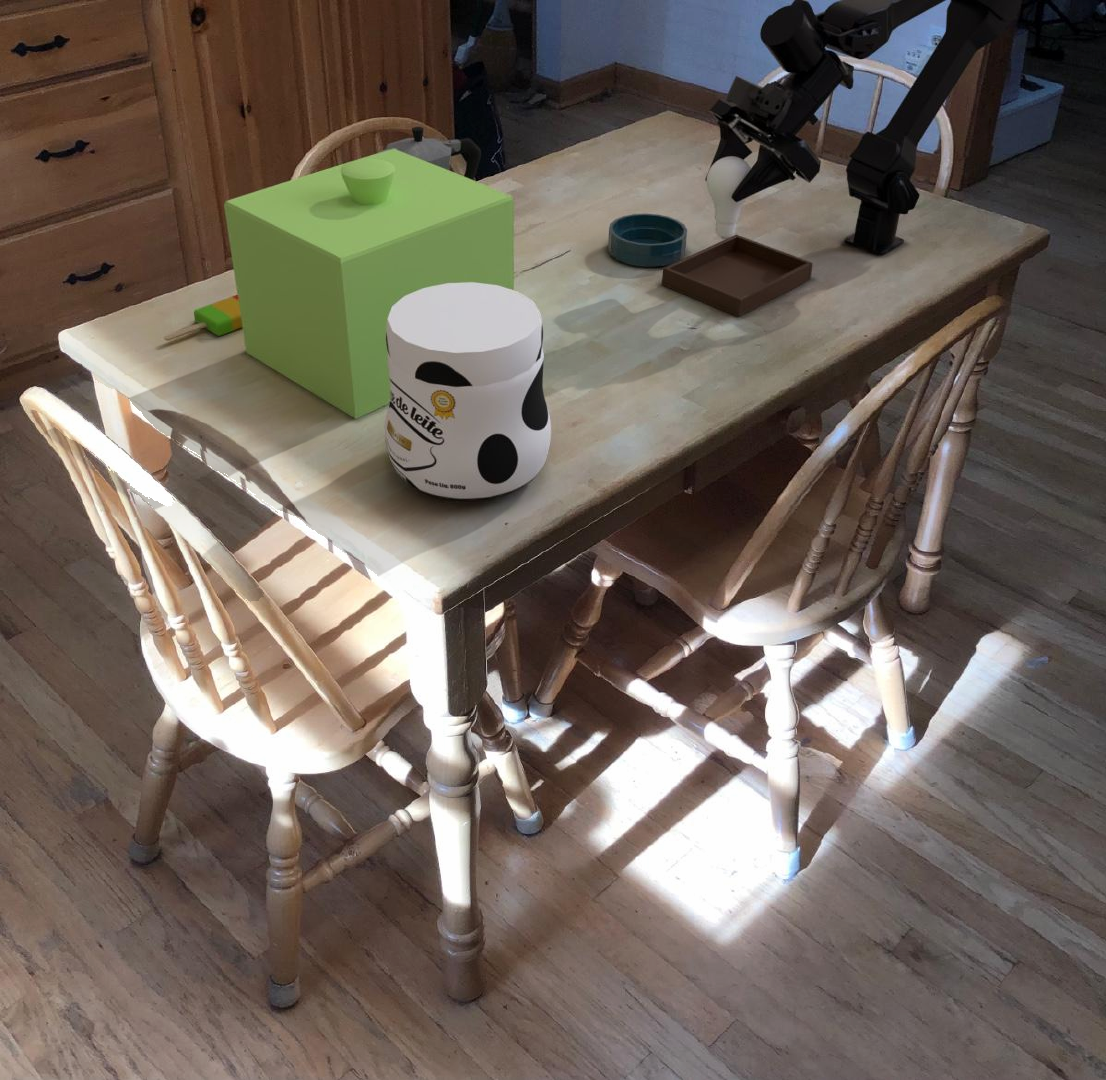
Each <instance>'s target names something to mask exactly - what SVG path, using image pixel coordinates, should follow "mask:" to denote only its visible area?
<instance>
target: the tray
mask: <svg viewBox="0 0 1106 1080" xmlns="http://www.w3.org/2000/svg"><path fill="white" fill-rule="evenodd" d="M813 264H814V263H813V262H811V261H809V260H806V259H803V258H801V257H798V256H795V255H792V254H790V253H787V252H784V251H783V250H779V249H777V248H774V247H771V246H769V245H766V244H763V243H761V242H759V241H756V240H753V239H749V238H748V237H744V236H742V235H739V234H734V235H733V236H732V237H729V238H728V239H722V240H721V241H719V242H717V243H715V244H712V245H710V246H708V247H706V248H703V249H701V250H699V251H697V252H695V253H693V254H691V255H688V256H686V257H683V258H682V259H681V260H679V261H677V262H675V263H673V264H669V265H665V266H663V268H662V276H661V286H664V287H666V288H668V289H671V290H673V291H675V292H677V293H680V294H683V295H685V296H687V297H689V298H691V299H695V300H697V301H699V302H702V303H704V304H707V305H709V306H711V307H714V308H716V309H718V310H720V311H723V312H726V313H728V314H731V315H732V316H735V317H737V318H740V317H742V316H743V315H745V314H747V313H749V312H751V311H753V310H755V309H757V308H759V307H761V306H763V305H765V304H766V303H767V304H768V302H770V301H772V300H774V299H776V298H778V297H780V296H782V295H783V294H786V293H787V292H790V291H792V290H793V289H795V288H797V287H799V286H801V285H803V284H805V283H807V282H809V281H811V277H812V271H813V266H814V265H813Z"/></svg>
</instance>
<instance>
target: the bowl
mask: <svg viewBox="0 0 1106 1080" xmlns="http://www.w3.org/2000/svg"><path fill="white" fill-rule="evenodd" d="M687 236H688V228H687V226H685V224H684V223H683V222H681V221H680V220H678V219H676V218H673V217H670V216H667V215H661V214H655V213H634V214H628V215H623V216H621V217H617V218H615V219H614V220H613V221H611V222H610V223H609V227H608V240H607V251H608V253H609V255H610V256H612V257H613V258H614V259H615V260H617V261H619V262H621V263H624V264H628V265H631V266H637V267H647V268H650V267H665V266H669V265H671V264H673V263H675V262H677V261H680V260H682V259H684V258H685V255H686V248H687V238H688V237H687Z"/></svg>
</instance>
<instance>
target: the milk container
mask: <svg viewBox="0 0 1106 1080" xmlns="http://www.w3.org/2000/svg"><path fill="white" fill-rule="evenodd" d="M543 342H544V326H543V318H542V314H541V311H540V310H539V308H538V306H537V305H536V303H535V302H534V300H532V299H531V298H529V297H527V296H526V295H524V294H523V293H521V292H519V291H517V290H515V289H514V290H511V289H508V288H505V287H501V286H498V285H491V284H483V283H475V282H467V283H446V284H441V285H436V286H431V287H426V288H423V289H420V290H418V291H415V292H413V293H411V294H408V295H406V296H404V297H403V298H402V299H400V300H399V301H398V302H397V303H396V304H395V305H393V306H392V308H391V311H390V313H389V316H388V319H387V326H386V345H387V350H388V368H389V376H390V387H391V395H390V401H389V404H388V406H387V411H386V413H385V421H384V440H385V441H384V442H385V446H386V450H387V454H388V457H389V460H390V464H391V466H392V467H393V469H394V471H395V472H396V473H397V476H399V477H400V479H402V481H404V482H405V483H406V484H407V485H408V486H410V487H411V488H413V489H415V490H416V491H419V492H421V493H424V494H425V495H429V496H432V497H435V498H438V499H446V500H453V501H458V502H469V501H487V500H491V499H494V498H498V497H502V496H505V495H508V494H509V495H510V494H512V493H513V492H516V491H518V490H520V489H521V488H523V487H525V486H526V485H528V484H529V483H531V482H532V481H533V480H534V479H535V478H536V477H537V476H538V474H539V473H540V471H541V470H542V469H543V467H544V465H545V464H546V461H547V459H548V454H549V450H550V445H551V440H552V422H551V416H550V412H549V408H548V405H547V402H546V397H545V393H544V387H543V385H544V382H543V381H544V379H543V378H544V363H545V362H544V361H545V360H544V359H545V357H544V355H545V354H544V347H543Z"/></svg>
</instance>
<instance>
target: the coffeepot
mask: <svg viewBox="0 0 1106 1080" xmlns="http://www.w3.org/2000/svg"><path fill="white" fill-rule="evenodd" d="M424 129H425V128H424V127H421V126H414V127H412V128H411V133H412V136H413V137H406V138H404V139H401V140H397V141H394V142H390V143H387V146H386V148H385V149H383V150H379V151H376V154H377V153H380V152H384V151H387V150H391V149H397V150H399V151H401V152H403V153H406V154H408V155H411V156H413V157H416V158H419V159H421V160H424V161H426V162H429V163H431V164H434V165H436V166H439V167H441V168H444V169H446V170H449V171H450V167H451V166H450V165H451V157H454V156H455V157H456V156H459V155H461V154H465V153H467V154H468V157H467V159H466V164H465V165H466V166H465V172H464V175H463V176H464V177H466V178H469V179H471V180H474V181H475V176H476V174H477V170H478V166H479V164H480V160H481V157H482V150H481V149H480V147H479V146H478V145H477V144H476V143H475V142H474V141H473V140H472V139H471V138H469V137H467V138H461V139H449V140H445V141H442V140H439V139H437V138H428V137H427V138H426V137H424ZM423 137H424V138H423Z"/></svg>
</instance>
